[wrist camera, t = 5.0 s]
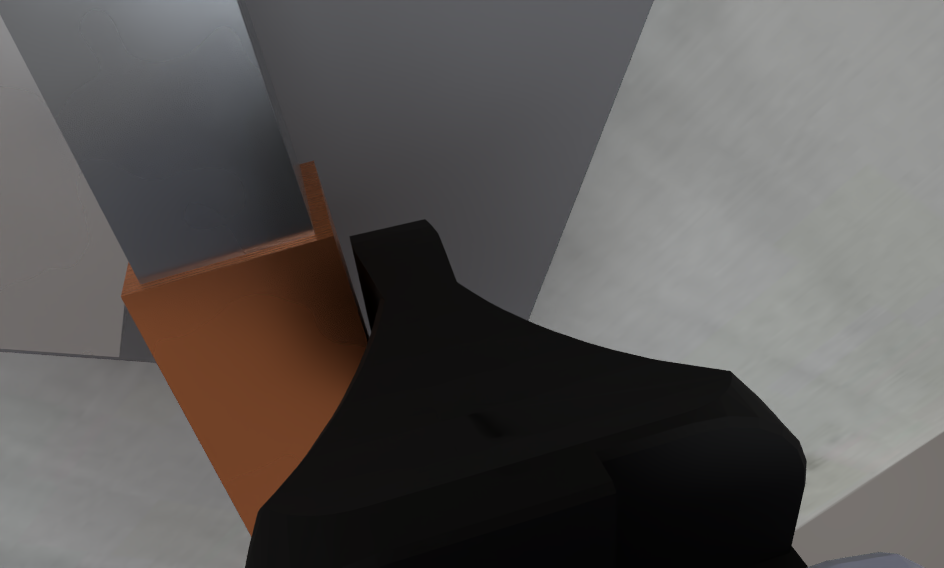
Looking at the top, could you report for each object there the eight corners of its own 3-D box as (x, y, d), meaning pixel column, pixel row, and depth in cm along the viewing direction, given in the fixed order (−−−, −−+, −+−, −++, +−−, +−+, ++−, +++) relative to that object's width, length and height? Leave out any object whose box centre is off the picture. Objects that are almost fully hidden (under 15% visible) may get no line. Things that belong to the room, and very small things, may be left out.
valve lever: (-228, -523, 6) (-433, -681, 4) (97, -563, 6) (44, -726, 4) (263, 473, 13) (269, 583, 11) (403, 427, 13) (433, 526, 11)
